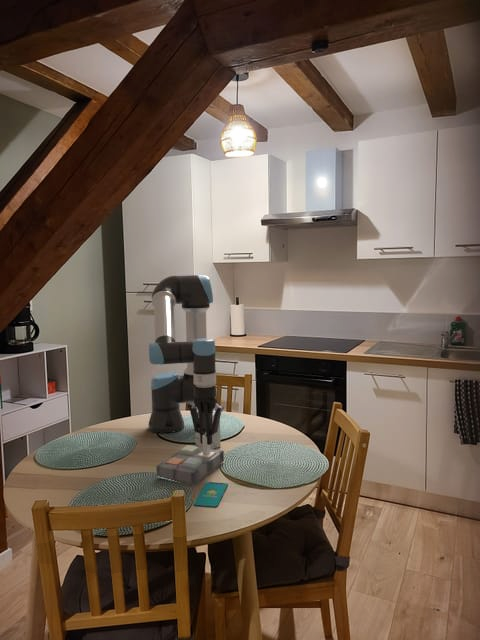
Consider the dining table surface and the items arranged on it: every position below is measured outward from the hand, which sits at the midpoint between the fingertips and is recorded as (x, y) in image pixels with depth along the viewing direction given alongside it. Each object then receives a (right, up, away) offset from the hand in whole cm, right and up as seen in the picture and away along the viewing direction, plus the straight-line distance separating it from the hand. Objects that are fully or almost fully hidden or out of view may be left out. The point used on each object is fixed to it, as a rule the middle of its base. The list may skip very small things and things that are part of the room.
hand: (206, 453), depth 164 cm
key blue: (-4, -3, -8) cm, 9 cm away
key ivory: (0, -3, 0) cm, 3 cm away
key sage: (-6, -2, +3) cm, 7 cm away
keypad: (-5, -5, -2) cm, 7 cm away
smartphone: (+3, -7, -20) cm, 21 cm away
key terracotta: (-10, -4, -5) cm, 12 cm away
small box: (-1, -3, +20) cm, 20 cm away
